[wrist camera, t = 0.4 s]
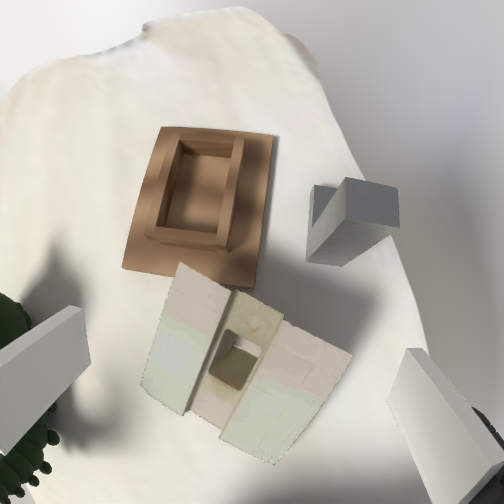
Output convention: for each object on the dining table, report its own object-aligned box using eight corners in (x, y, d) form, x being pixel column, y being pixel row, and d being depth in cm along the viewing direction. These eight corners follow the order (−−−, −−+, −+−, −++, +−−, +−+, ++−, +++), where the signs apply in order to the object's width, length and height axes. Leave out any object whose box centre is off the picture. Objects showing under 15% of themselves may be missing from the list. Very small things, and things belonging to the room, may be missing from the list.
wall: (303, 410, 30) (370, 320, 23) (276, 469, 23) (359, 392, 16) (184, 345, 34) (208, 239, 27) (139, 387, 27) (145, 276, 20)
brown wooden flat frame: (253, 288, 30) (254, 283, 26) (125, 269, 30) (109, 261, 26) (272, 140, 34) (275, 120, 30) (163, 131, 34) (155, 111, 30)
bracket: (341, 266, 30) (399, 227, 18) (305, 261, 30) (345, 217, 18) (344, 198, 32) (390, 133, 20) (310, 192, 32) (343, 121, 20)
